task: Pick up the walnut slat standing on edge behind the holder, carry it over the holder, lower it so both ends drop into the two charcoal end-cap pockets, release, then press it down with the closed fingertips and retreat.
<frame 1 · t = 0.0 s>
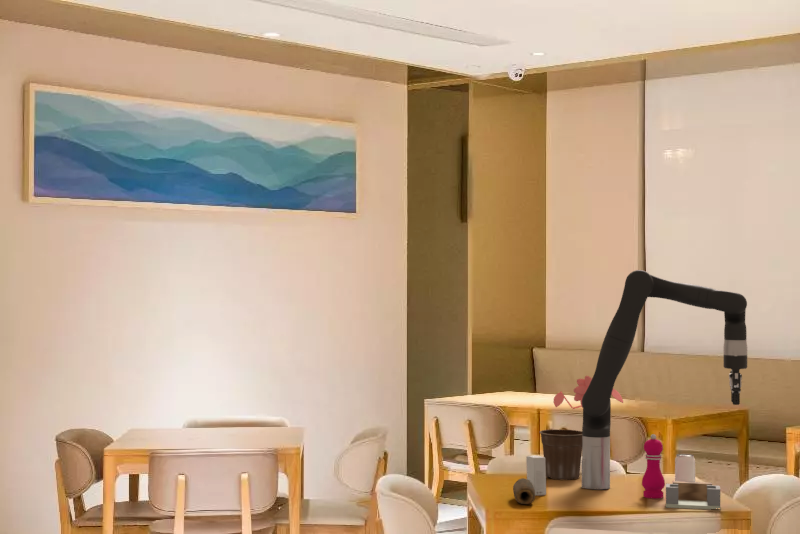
hand: (735, 403, 383), 29 cm above the table, fingers open, 8 cm apart
pepper mill: (653, 497, 375), on the table
figurine: (589, 470, 435), on the table
skincare box: (536, 494, 379), on the table
slat: (692, 501, 367), on the table
brown twine roll: (523, 502, 364), on the table
holder: (692, 506, 358), on the table
plant pot: (562, 478, 415), on the table
can: (685, 492, 386), on the table
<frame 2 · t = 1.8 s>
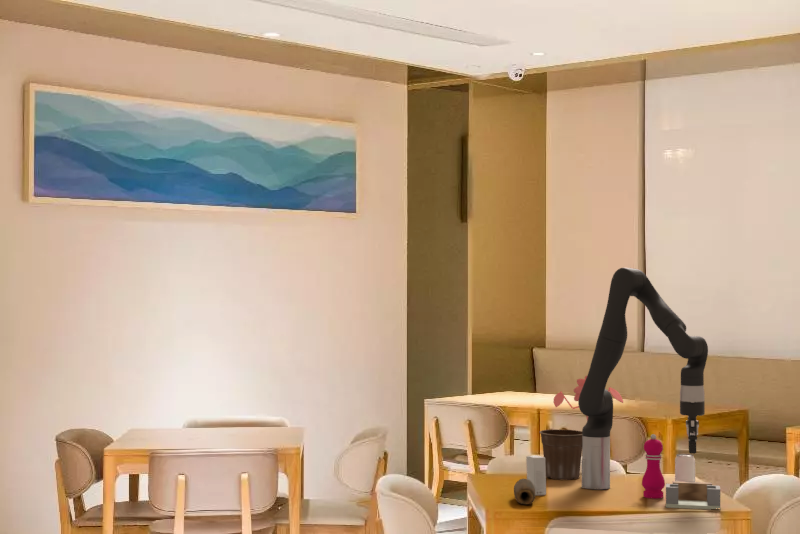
hand: (692, 451, 368), 15 cm above the table, fingers open, 8 cm apart
nothing on the table moved.
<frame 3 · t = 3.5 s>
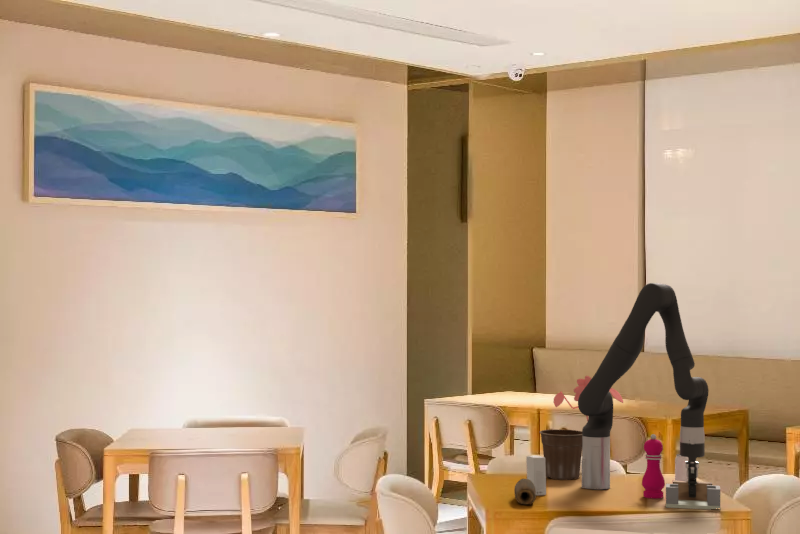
hand: (692, 496, 367), 2 cm above the table, fingers closed on slat, 3 cm apart
slat: (692, 501, 367), on the table, touching gripper
everything else where it was.
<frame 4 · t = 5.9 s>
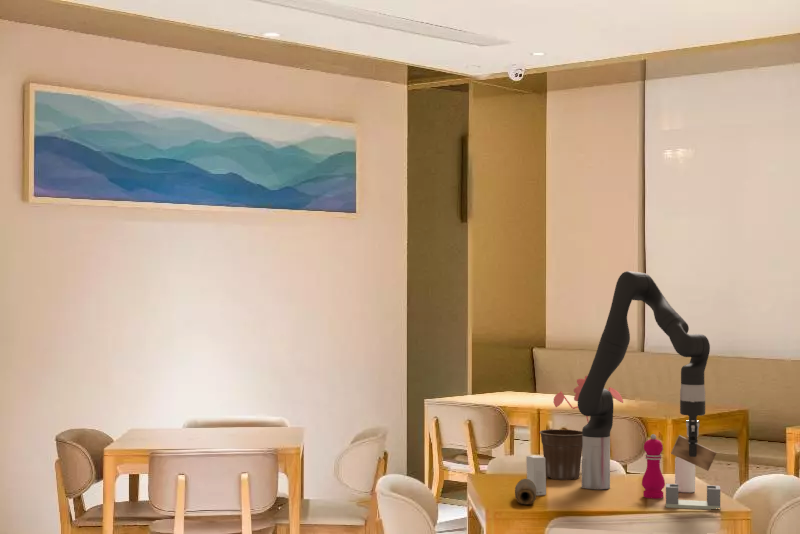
hand: (692, 455, 359), 15 cm above the table, fingers closed on slat, 3 cm apart
slat: (689, 461, 359), point 13 cm above the table, tilted 24°, touching gripper
everything else where it was.
when the fingers open (4 cm above the table, at t = 8.1 s): slat drops 1 cm, resting on holder.
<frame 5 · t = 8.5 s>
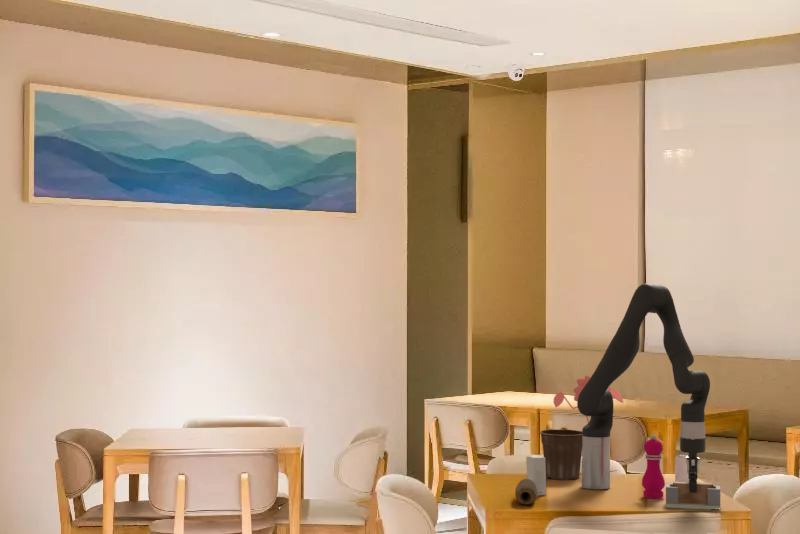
hand: (692, 490, 359), 5 cm above the table, fingers open, 6 cm apart
slat: (692, 502, 359), point 1 cm above the table, touching holder
everything else where it was.
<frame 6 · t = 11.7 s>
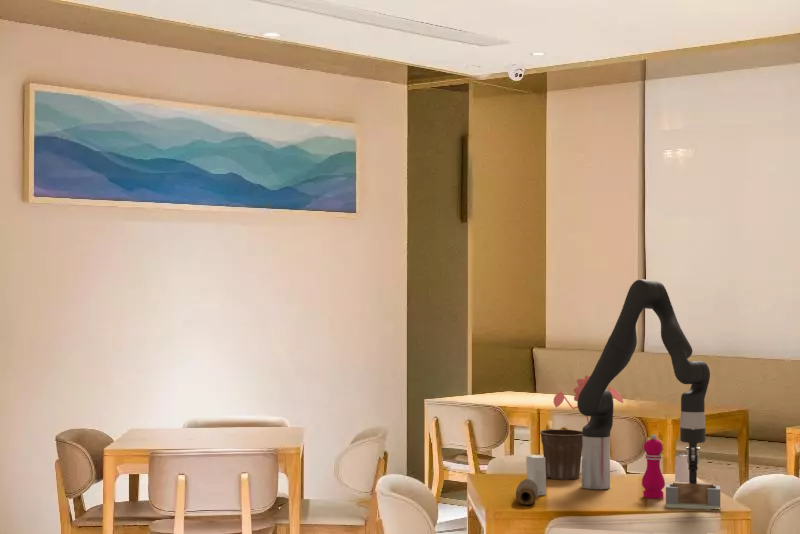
hand: (692, 483, 359), 7 cm above the table, fingers closed
slat: (692, 502, 359), point 1 cm above the table, touching gripper, holder
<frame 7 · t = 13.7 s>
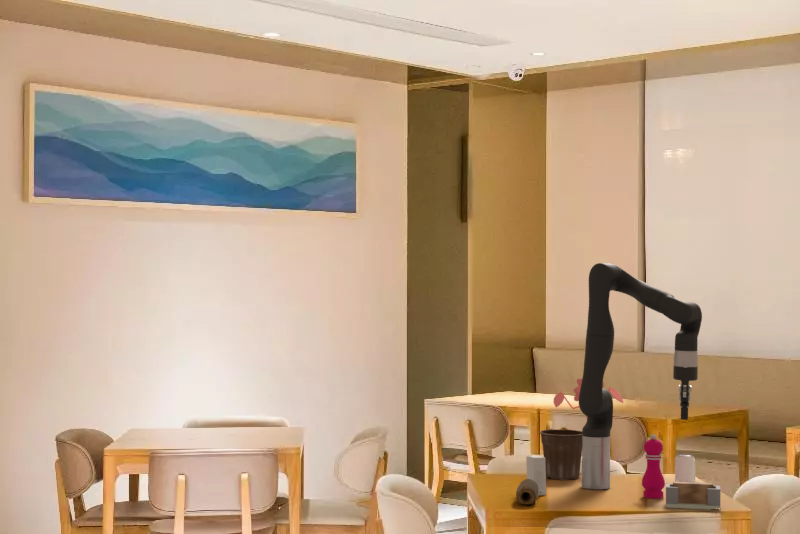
hand: (684, 419, 373), 25 cm above the table, fingers closed
slat: (692, 502, 359), point 1 cm above the table, touching holder
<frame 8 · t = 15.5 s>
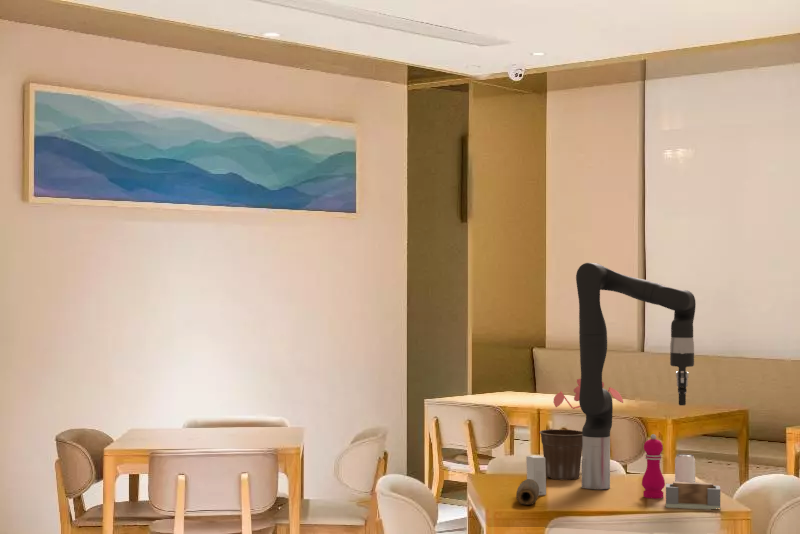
hand: (682, 405, 379), 29 cm above the table, fingers closed
at the end: slat 0.1 cm off-centre on the holder, point 1.0 cm above the holder's base; slat tilted 0°; the gripper is holding nothing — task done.
